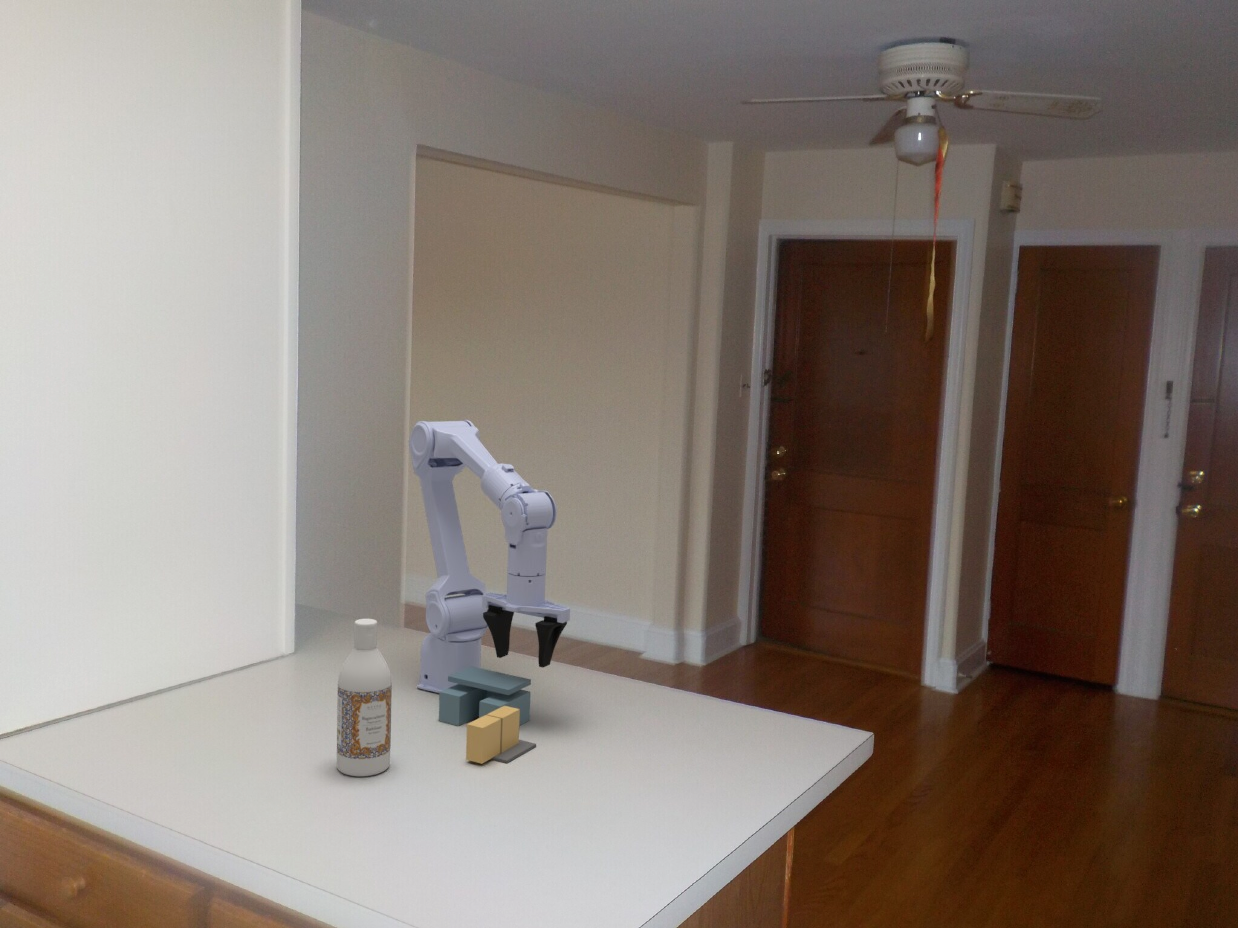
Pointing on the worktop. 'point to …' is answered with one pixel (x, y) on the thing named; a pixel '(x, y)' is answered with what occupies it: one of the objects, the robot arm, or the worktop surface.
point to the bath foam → (364, 706)
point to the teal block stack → (482, 695)
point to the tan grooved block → (492, 734)
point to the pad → (514, 751)
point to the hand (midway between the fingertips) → (523, 660)
